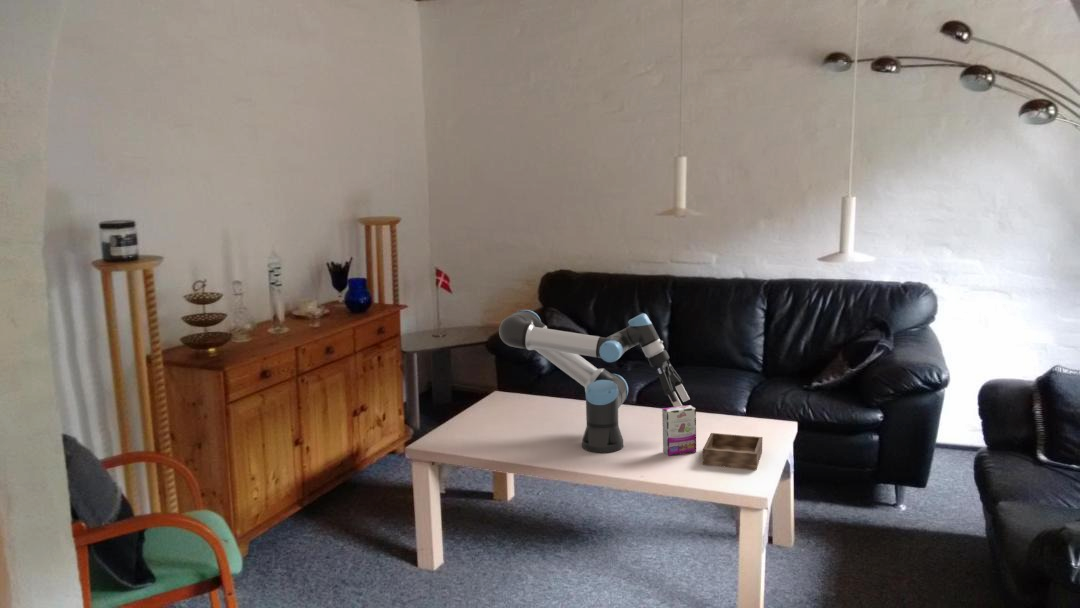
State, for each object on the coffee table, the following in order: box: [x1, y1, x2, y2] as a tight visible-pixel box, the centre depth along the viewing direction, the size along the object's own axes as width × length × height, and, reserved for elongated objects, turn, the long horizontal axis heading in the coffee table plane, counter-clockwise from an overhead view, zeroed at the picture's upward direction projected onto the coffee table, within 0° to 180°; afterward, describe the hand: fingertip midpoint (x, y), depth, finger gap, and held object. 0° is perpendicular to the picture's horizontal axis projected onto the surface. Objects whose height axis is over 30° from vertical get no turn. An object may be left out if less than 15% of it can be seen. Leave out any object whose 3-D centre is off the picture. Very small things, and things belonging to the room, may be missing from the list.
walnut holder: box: [702, 432, 763, 471], centre depth 300 cm, size 18×18×6 cm
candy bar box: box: [661, 404, 697, 457], centre depth 306 cm, size 11×5×16 cm, turn 105°
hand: (683, 405), depth 316 cm, fingers open, 13 cm apart
